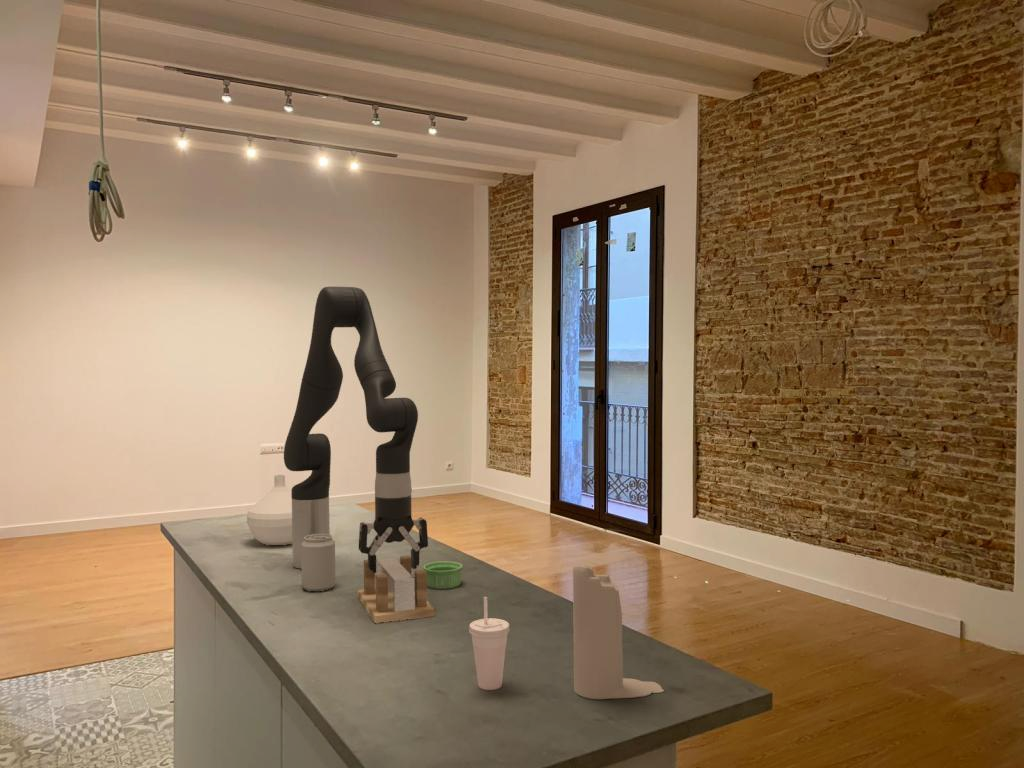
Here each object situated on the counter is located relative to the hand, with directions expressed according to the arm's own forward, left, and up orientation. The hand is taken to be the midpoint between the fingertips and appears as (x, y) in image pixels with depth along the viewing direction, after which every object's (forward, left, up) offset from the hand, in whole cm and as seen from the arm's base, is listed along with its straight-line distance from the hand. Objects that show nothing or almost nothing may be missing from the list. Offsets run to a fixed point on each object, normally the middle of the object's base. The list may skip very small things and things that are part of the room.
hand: (393, 570), depth 167 cm
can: (-20, -13, -8) cm, 25 cm away
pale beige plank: (0, 0, -6) cm, 6 cm away
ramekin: (-12, +14, -8) cm, 20 cm away
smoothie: (+46, +5, -8) cm, 47 cm away
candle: (+55, +23, -8) cm, 60 cm away
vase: (-72, -17, -8) cm, 74 cm away
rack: (0, 0, -8) cm, 8 cm away
